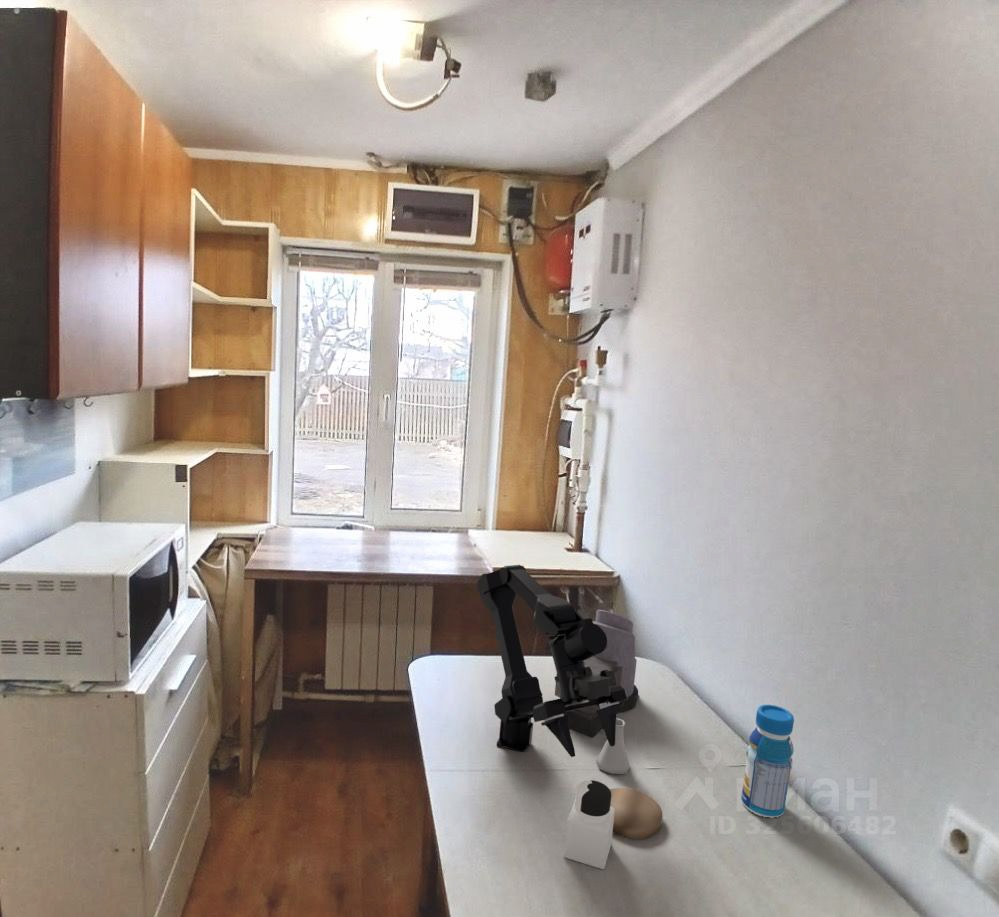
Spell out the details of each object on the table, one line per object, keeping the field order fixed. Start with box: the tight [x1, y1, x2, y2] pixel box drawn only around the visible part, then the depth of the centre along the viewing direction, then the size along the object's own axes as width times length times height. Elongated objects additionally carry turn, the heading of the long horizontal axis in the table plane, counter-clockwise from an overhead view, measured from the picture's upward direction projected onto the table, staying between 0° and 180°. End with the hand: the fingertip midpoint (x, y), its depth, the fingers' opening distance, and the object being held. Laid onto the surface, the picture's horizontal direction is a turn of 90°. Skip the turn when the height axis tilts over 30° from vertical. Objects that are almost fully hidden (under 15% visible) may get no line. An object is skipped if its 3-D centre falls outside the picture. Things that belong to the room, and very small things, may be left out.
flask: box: [595, 717, 631, 775], centre depth 144 cm, size 7×7×10 cm
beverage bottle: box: [740, 704, 795, 819], centre depth 134 cm, size 8×8×20 cm
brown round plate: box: [609, 787, 663, 840], centre depth 128 cm, size 12×12×2 cm
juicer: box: [554, 609, 640, 739], centre depth 169 cm, size 30×16×24 cm, turn 148°
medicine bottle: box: [563, 779, 615, 870], centre depth 118 cm, size 7×7×12 cm
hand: (593, 751), depth 126 cm, fingers open, 9 cm apart
